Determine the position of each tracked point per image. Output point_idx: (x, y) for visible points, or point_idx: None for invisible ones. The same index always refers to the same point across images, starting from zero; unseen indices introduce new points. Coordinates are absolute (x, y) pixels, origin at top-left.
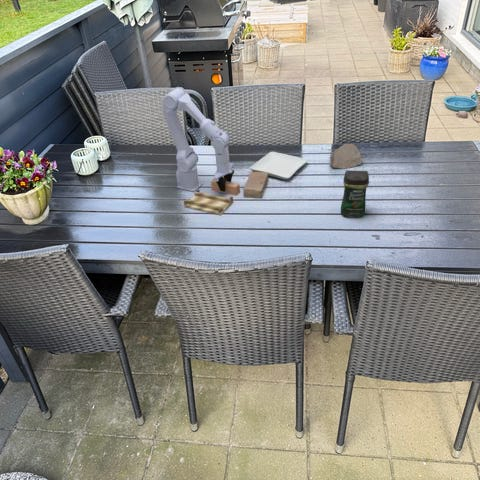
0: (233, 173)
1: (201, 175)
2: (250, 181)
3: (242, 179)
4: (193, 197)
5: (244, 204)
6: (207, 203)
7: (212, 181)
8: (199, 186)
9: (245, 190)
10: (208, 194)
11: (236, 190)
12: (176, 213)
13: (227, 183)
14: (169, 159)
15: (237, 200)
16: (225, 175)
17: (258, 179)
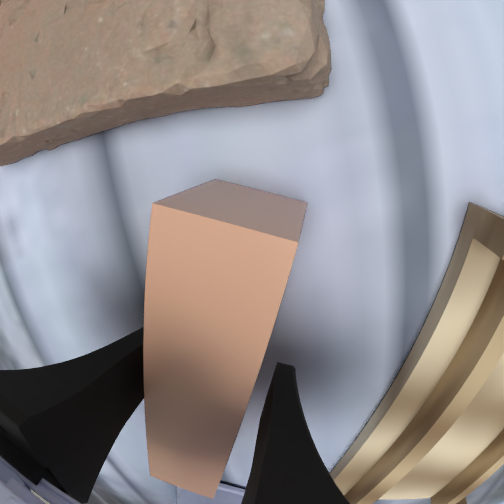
0: (11, 370)
1: (108, 459)
2: (49, 71)
3: (21, 234)
4: (380, 497)
5: (480, 63)
6: (484, 421)
7: (207, 491)
8: (221, 485)
9: (319, 31)
10: (398, 467)
11: (286, 214)
12: (497, 480)
13: (197, 392)
14: (88, 499)
15: (419, 160)
16: (95, 450)
17: (17, 21)
